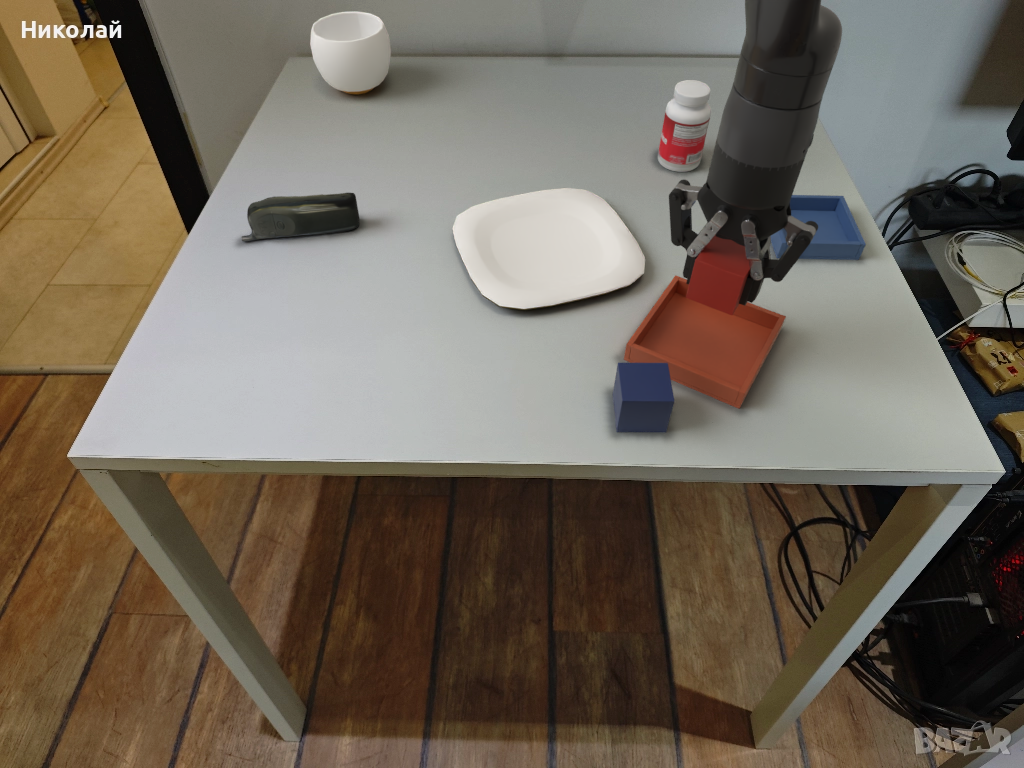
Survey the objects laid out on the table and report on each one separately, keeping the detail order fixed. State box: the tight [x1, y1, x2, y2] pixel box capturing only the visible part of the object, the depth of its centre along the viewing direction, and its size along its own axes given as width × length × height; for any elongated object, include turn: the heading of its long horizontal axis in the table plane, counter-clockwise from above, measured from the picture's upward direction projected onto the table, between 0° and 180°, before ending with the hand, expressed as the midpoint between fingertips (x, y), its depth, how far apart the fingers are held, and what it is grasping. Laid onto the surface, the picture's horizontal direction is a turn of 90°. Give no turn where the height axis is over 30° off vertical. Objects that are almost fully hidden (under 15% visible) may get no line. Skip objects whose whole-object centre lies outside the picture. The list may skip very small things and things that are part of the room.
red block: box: [686, 234, 750, 315], centre depth 72 cm, size 5×5×5 cm
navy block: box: [612, 362, 676, 433], centre depth 72 cm, size 5×5×5 cm
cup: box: [309, 10, 392, 95], centre depth 115 cm, size 12×12×10 cm
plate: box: [452, 187, 646, 311], centre depth 90 cm, size 22×22×2 cm
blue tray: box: [771, 194, 867, 261], centre depth 92 cm, size 10×10×2 cm
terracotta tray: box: [623, 274, 787, 409], centre depth 79 cm, size 13×13×2 cm
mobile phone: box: [240, 192, 360, 242], centre depth 92 cm, size 5×3×15 cm
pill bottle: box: [657, 79, 712, 173], centre depth 100 cm, size 6×6×11 cm
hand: (718, 289), depth 74 cm, fingers closed on red block, 5 cm apart
